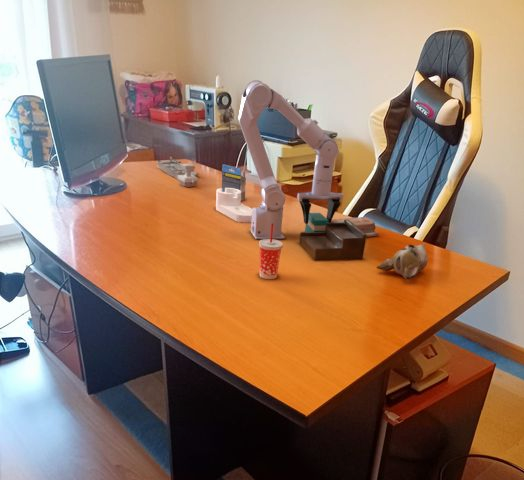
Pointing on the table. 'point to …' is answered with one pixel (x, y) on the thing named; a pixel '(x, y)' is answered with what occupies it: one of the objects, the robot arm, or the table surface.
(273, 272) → the beverage cup
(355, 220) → the packaged product
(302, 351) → the table surface
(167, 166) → the architectural model
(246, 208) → the bracket
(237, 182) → the label tape box
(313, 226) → the block
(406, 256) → the ceramic sculpture
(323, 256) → the step shelf
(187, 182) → the stamp
